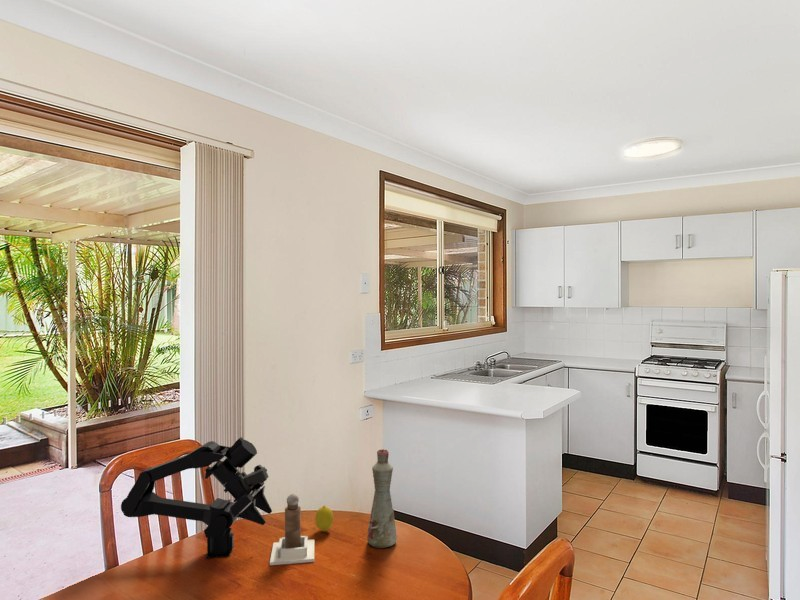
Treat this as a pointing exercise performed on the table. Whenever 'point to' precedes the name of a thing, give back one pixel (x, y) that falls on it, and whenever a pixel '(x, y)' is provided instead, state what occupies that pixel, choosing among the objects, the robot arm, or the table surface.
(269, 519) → the table surface
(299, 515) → the pepper mill
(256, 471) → the robot arm
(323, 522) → the lemon
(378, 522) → the bottle
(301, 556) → the mill stand
